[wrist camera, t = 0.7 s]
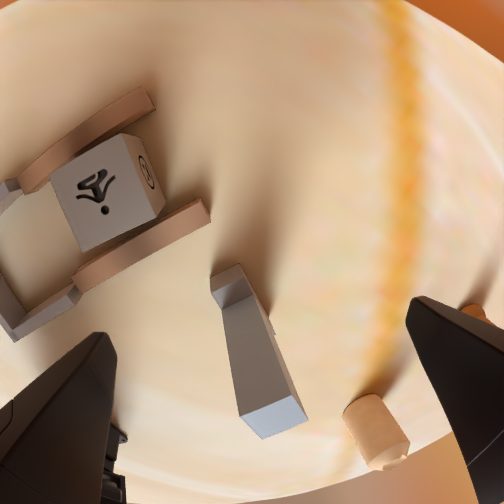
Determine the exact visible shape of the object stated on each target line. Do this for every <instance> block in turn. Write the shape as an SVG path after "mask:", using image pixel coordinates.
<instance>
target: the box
mask: <svg viewBox="0 0 504 504" xmlns="http://www.w3.org/2000/svg"><path fill="white" fill-rule="evenodd" d="M22 193H23V191H22V189H21V187H20V184H19V182H18V180H17V178H13V179H9V180H5V181H3V182H2V183H1V184H0V215H1V214H2V213H3V212H4V211H5V210H6V209H7V208H8V207H9V206H10V205H11V204H12V203H13V202H14V201H15V200H16V199H17V198H18V197H19V196H20V195H21V194H22ZM82 295H83V294H81V292H80V291H79V289H78V288H77V286H76V285H75V283H74V282H73V283H71V284H70V285H68V286H67V287H65V288H63V289H62V290H60V291H59V292H57V293H56V294H54V295H53V296H51V297H50V298H48V299H47V300H45V301H44V302H42V303H41V304H39V305H38V306H36V307H35V308H34V309H32V310H31V311H29V312H28V313H26V311H25V310H24V308H23V307H22V305H21V304H20V303H19V301H18V300H17V298H16V297H15V295H14V293H13V292H12V290H11V289H10V287H9V286H8V284H7V282H6V281H5V279H4V277H3V276H2V274H1V272H0V324H1V326H2V327H3V328H4V330H5V331H6V332H7V334H8V335H9V336H10V338H11V339H12V340H13V342H14V343H15V342H16V341H18V340H20V339H21V338H23V337H24V336H26V335H27V334H29V333H31V332H32V331H34V330H36V329H37V328H39V327H40V326H42V325H44V324H45V323H47V322H49V321H50V320H52V319H54V318H55V317H57V316H59V315H60V314H62V313H64V312H65V311H67V310H69V309H70V308H72V307H74V306H75V305H76V303H77V302H78V300H79V299H80V298H81V296H82Z"/></svg>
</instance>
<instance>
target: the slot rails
mask: <svg viewBox="0 0 504 504" xmlns="http://www.w3.org/2000/svg"><path fill="white" fill-rule="evenodd" d="M154 110H156V109H155V107H154V105H153V103H152V101H151V99H150V97H149V95H148V93H147V92H146V90H145V89H144V88H143V87H142V86H141V87H139V88H137V89H135V90H133V91H132V92H130V93H128V94H127V95H125V96H123V97H122V98H120V99H118V100H117V101H115V102H113V103H112V104H110V105H109V106H107V107H106V108H104V109H102V110H101V111H99V112H98V113H96V114H95V115H93V116H92V117H91V118H89V119H88V120H86V121H85V122H83V123H82V124H81V125H79V126H78V127H76V128H75V129H74V130H72V131H71V132H70V133H68V134H67V135H66V136H64V137H63V138H62V139H61V140H59V141H58V142H57V143H56V144H54V145H53V146H52V147H51V148H49V149H48V150H47V151H46V152H45V153H44V154H42V155H41V156H40V157H39V158H38V159H37V160H35V161H34V162H33V163H32V164H31V165H30V166H29V167H28V168H27V169H25V170H24V171H23V172H22V173H21V174H20V175H19V176H18V177H17V180H18V182H19V184H20V187H21V189H22V191H23V193H24V195H27V194H30V193H33V192H36V191H38V190H39V189H40V188H42V187H43V186H44V185H45V184H46V183H48V182H49V181H50V178H49V175H50V174H52V173H53V172H55V171H56V170H58V169H60V168H61V167H63V166H64V165H66V164H67V163H69V162H71V161H72V160H74V159H75V158H77V157H79V156H80V155H82V154H84V153H85V152H87V151H89V150H91V149H92V148H94V147H95V146H97V145H98V144H100V143H101V142H103V141H104V140H106V139H107V138H109V137H110V136H112V135H114V134H115V133H117V132H118V131H120V130H121V129H123V128H125V127H126V126H128V125H130V124H131V123H133V122H135V121H136V120H138V119H140V118H142V117H143V116H145V115H147V114H149V113H150V112H152V111H154ZM209 223H211V219H210V215H209V213H208V211H207V209H206V207H205V205H204V203H203V201H202V199H201V197H199V198H198V199H196V200H194V201H192V202H190V203H188V204H186V205H184V206H182V207H181V208H179V209H177V210H175V211H173V212H171V213H170V214H168V215H166V216H164V217H162V218H161V219H159V220H157V221H155V222H153V223H152V224H150V225H148V226H146V227H145V228H143V229H141V230H139V231H138V232H136V233H134V234H133V235H131V236H129V237H127V238H126V239H124V240H122V241H121V242H119V243H117V244H116V245H114V246H112V247H111V248H109V249H108V250H106V251H104V252H103V253H101V254H100V255H98V256H96V257H95V258H93V259H92V260H90V261H88V262H87V263H85V264H84V265H82V266H81V267H79V268H78V270H77V271H76V272H75V273H74V274H73V275H72V276H71V279H72V280H73V282H74V283H75V285H76V286H77V288H78V289H79V291H80V292H81V294H83V293H84V292H86V291H88V290H89V289H91V288H93V287H94V286H96V285H98V284H100V283H101V282H103V281H105V280H106V279H108V278H110V277H112V276H113V275H115V274H117V273H119V272H120V271H122V270H124V269H126V268H127V267H129V266H131V265H133V264H134V263H136V262H138V261H140V260H142V259H143V258H145V257H147V256H149V255H151V254H152V253H154V252H156V251H158V250H160V249H162V248H163V247H165V246H167V245H169V244H171V243H173V242H175V241H176V240H178V239H180V238H182V237H184V236H186V235H188V234H190V233H191V232H193V231H195V230H197V229H199V228H201V227H203V226H205V225H207V224H209Z"/></svg>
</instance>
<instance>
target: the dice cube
mask: <svg viewBox="0 0 504 504" xmlns="http://www.w3.org/2000/svg"><path fill="white" fill-rule="evenodd" d="M49 178H50V180H51V183H52V185H53V188H54V190H55V193H56V195H57V198H58V200H59V203H60V205H61V207H62V210H63V212H64V214H65V216H66V219H67V221H68V223H69V225H70V227H71V229H72V231H73V234H74V236H75V238H76V240H77V242H78V244H79V246H80V248H81V250H82V252H83V253H84V252H86V251H88V250H90V249H92V248H94V247H96V246H98V245H100V244H102V243H104V242H106V241H108V240H110V239H112V238H114V237H116V236H118V235H120V234H122V233H124V232H126V231H128V230H131V229H133V228H135V227H137V226H139V225H141V224H143V223H146V222H148V221H150V220H152V219H154V218H156V217H157V216H158V214H159V213H160V211H161V210H162V209H163V207H164V206H165V204H166V203H167V201H166V199H165V196H164V194H163V192H162V189H161V187H160V185H159V182H158V180H157V177H156V175H155V173H154V170H153V168H152V165H151V163H150V160H149V158H148V155H147V153H146V150H145V148H144V145H143V143H142V140H141V138H140V137H137V136H133V135H128V134H124V133H120V134H118V135H116V136H114V137H112V138H110V139H108V140H107V141H105V142H103V143H101V144H99V145H98V146H96V147H94V148H92V149H91V150H89V151H87V152H85V153H84V154H82V155H80V156H79V157H77V158H75V159H74V160H72V161H71V162H69V163H67V164H66V165H64V166H63V167H61V168H60V169H58V170H56V171H55V172H53V173H52V174H50V175H49Z"/></svg>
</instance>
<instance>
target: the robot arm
mask: <svg viewBox="0 0 504 504" xmlns="http://www.w3.org/2000/svg"><path fill="white" fill-rule="evenodd" d="M405 322H406V327H407V330H408V332H409V334H410V337H411V339H412V341H413V344H414V346H415V349H416V351H417V354H418V356H419V359H420V361H421V364H422V366H423V368H424V370H425V372H426V374H427V376H428V378H429V380H430V382H431V384H432V386H433V388H434V390H435V392H436V394H437V396H438V399H439V401H440V403H441V405H442V407H443V409H444V412H445V414H446V416H447V418H448V421H449V423H450V425H451V428H452V430H453V432H454V435H455V437H456V439H457V442H458V445H459V447H460V450H461V452H462V455H463V457H464V460H465V463H466V465H467V469H468V472H469V474H470V477H471V480H472V483H473V486H474V489H475V493H476V496H477V499H478V502H479V504H500V503H502V502H503V501H504V330H503V329H501V328H499V327H496V326H494V325H492V324H489V323H487V322H485V321H482V320H480V319H478V318H476V317H473V316H471V315H469V314H466V313H464V312H462V311H459V310H457V309H454V308H452V307H450V306H447V305H445V304H443V303H440V302H438V301H435V300H433V299H431V298H428V297H426V296H419V297H414V298H413V299H412V300H411V302H410V305H409V309H408V312H407V316H406V321H405ZM116 367H117V354H116V351H115V349H114V347H113V344H112V342H111V340H110V337H109V335H108V334H107V333H106V332H93V333H92V334H90V335H89V336H88V337H87V338H85V339H84V340H83V341H82V342H80V343H79V344H78V345H77V346H75V347H74V348H73V349H72V350H70V351H69V352H68V353H67V354H65V355H64V356H63V357H62V358H60V359H59V360H58V361H57V362H56V363H54V364H53V365H52V366H51V367H50V368H48V369H47V370H46V371H45V372H43V373H42V374H41V375H40V376H39V377H38V378H36V379H35V380H34V381H33V382H32V383H30V384H29V385H28V386H27V387H26V388H24V389H23V390H22V391H21V392H20V393H19V394H17V395H16V396H15V397H14V399H12V400H10V401H9V402H8V403H7V404H6V405H5V406H4V407H2V408H1V409H0V504H126V488H125V476H122V475H118V474H115V473H113V469H114V462H115V461H116V459H117V452H118V446H119V444H121V443H126V442H127V441H128V438H127V437H126V436H124V435H123V434H122V433H121V432H119V431H118V430H117V429H116V428H114V427H113V426H112V425H111V424H110V419H111V414H112V408H113V400H114V388H115V377H116Z"/></svg>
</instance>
